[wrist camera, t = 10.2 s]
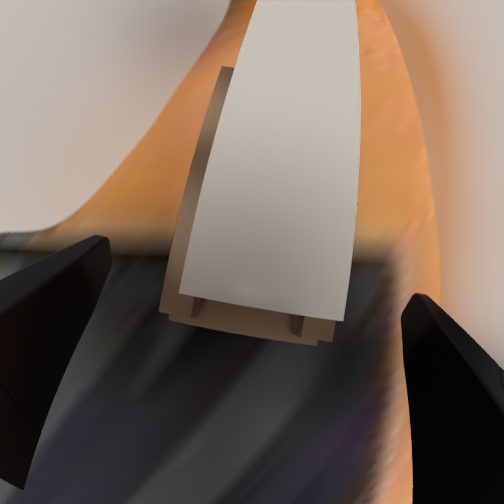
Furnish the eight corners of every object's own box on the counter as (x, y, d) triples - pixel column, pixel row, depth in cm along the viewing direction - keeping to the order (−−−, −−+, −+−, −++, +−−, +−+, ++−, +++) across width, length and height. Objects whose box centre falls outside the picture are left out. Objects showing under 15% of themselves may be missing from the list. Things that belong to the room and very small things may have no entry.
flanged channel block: (311, 343, 17) (330, 352, 14) (172, 319, 17) (156, 322, 13) (338, 118, 20) (355, 86, 16) (225, 96, 20) (223, 60, 16)
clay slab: (280, 312, 16) (343, 321, 6) (214, 300, 16) (179, 293, 6) (308, 117, 18) (354, -7, 8) (253, 107, 18) (266, -25, 8)
